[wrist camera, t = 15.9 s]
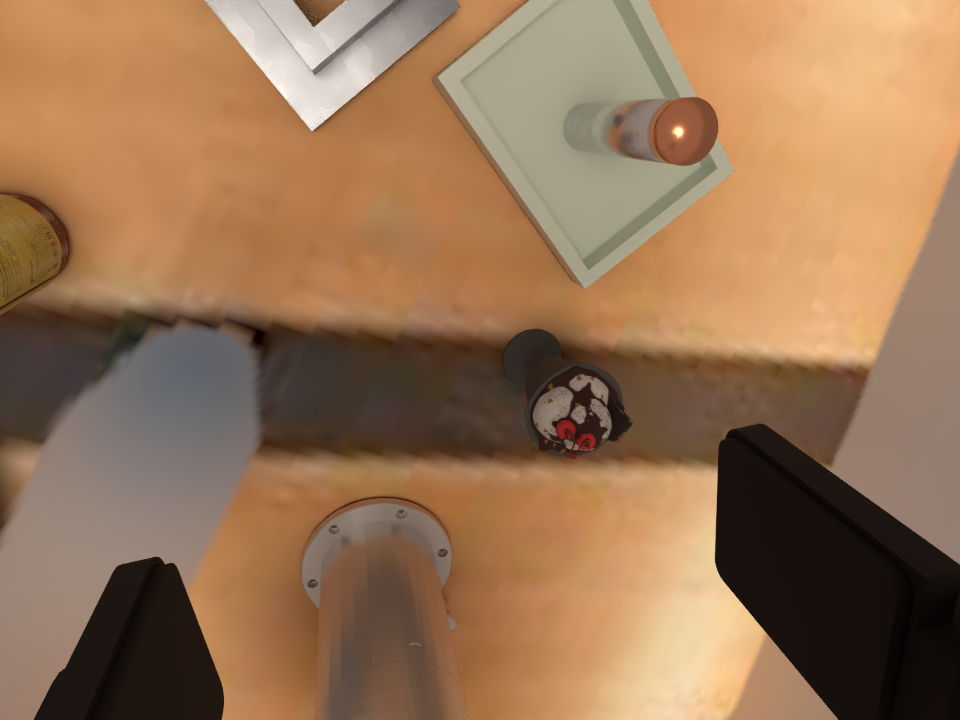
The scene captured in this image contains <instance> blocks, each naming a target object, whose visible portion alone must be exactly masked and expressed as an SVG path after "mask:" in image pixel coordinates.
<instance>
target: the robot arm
mask: <svg viewBox="0 0 960 720" xmlns="http://www.w3.org/2000/svg"><path fill="white" fill-rule="evenodd" d="M715 563H716V567H717V570H718V573H719V575H720V577H721V578H722V580H723V581H724V582H725V584H726V585H727V586H728V587H729V588H730V590H731V591H732V592H733V593H734V594H735V596H736V597H737V598H738V599H739V600H740V602H741V603H742V604H743V605H744V606H745V608H746V609H747V610H748V611H749V612H750V614H751V615H752V616H753V617H754V618H755V620H756V621H757V622H758V623H759V625H760V626H761V627H762V628H763V629H764V631H765V632H766V633H767V634H768V635H769V637H770V638H771V639H772V640H773V641H774V643H775V644H776V645H777V646H778V647H779V649H780V650H781V651H782V652H783V653H784V654H785V656H786V657H787V658H788V659H789V661H790V662H791V663H792V664H793V665H794V667H795V668H796V669H797V670H798V671H799V673H800V674H801V675H802V676H803V677H804V679H805V680H806V681H807V682H808V683H809V685H810V686H811V687H812V688H813V690H814V691H815V692H816V693H817V694H818V696H819V697H820V698H821V699H822V700H823V702H824V703H825V704H826V705H827V706H828V708H829V709H830V710H831V711H832V712H833V714H834V715H835V716H836V717H837V718H838V720H960V565H959V564H958V563H957V562H955V561H954V560H953V559H951V558H950V557H948V556H947V555H946V554H944V553H943V552H942V551H940V550H939V549H937V548H936V547H934V546H933V545H932V544H930V543H929V542H928V541H926V540H925V539H923V538H922V537H921V536H919V535H918V534H916V533H915V532H913V531H912V530H911V529H909V528H908V527H907V526H905V525H904V524H902V523H901V522H900V521H898V520H897V519H896V518H894V517H893V516H891V515H890V514H889V513H887V512H886V511H884V510H883V509H882V508H880V507H879V506H877V505H876V504H875V503H873V502H872V501H871V500H869V499H868V498H866V497H865V496H864V495H862V494H861V493H859V492H858V491H857V490H855V489H854V488H852V487H851V486H849V485H848V484H847V483H846V482H844V481H843V480H841V479H840V478H839V477H837V476H836V475H834V474H833V473H832V472H830V471H829V470H827V469H826V468H825V467H823V466H822V465H821V464H819V463H818V462H816V461H815V460H814V459H812V458H811V457H809V456H808V455H807V454H805V453H804V452H802V451H801V450H800V449H798V448H797V447H796V446H794V445H793V444H791V443H790V442H789V441H787V440H786V439H784V438H783V437H782V436H780V435H779V434H777V433H776V432H775V431H773V430H772V429H770V428H769V427H768V426H766V425H764V424H755V425H750V426H746V427H741V428H737V429H732V430H730V431H729V432H728V433H727V435H726V439H725V440H722V441H721V442H720V444H719V454H718V484H717V513H716V542H715ZM451 566H452V551H451V546H450V542H449V539H448V536H447V533H446V531H445V529H444V528H443V526H442V525H441V523H440V521H439V520H438V519H437V518H436V517H435V516H433V515H432V514H431V513H430V512H429V511H427V510H425V509H424V508H422V507H421V506H419V505H416V504H414V503H411V502H408V501H404V500H399V499H394V498H376V499H368V500H363V501H359V502H356V503H353V504H350V505H348V506H346V507H344V508H342V509H340V510H337V511H336V512H334V513H333V514H332V515H330V516H329V517H327V518H326V519H325V520H324V521H323V522H322V523H321V524H320V525H319V526H318V527H317V528H316V529H315V530H314V532H313V533H312V535H311V536H310V538H309V540H308V542H307V544H306V547H305V549H304V552H303V558H302V570H301V577H302V583H303V587H304V589H305V591H306V593H307V595H308V597H309V599H310V600H311V601H312V603H313V604H314V605H315V606H316V607H317V608H318V609H319V629H318V654H317V679H316V705H315V720H470V718H469V713H468V709H467V704H466V700H465V695H464V691H463V686H462V681H461V677H460V672H459V668H458V663H457V659H456V654H455V649H454V645H453V640H452V636H451V631H453V630H454V629H455V628H456V625H457V619H456V618H455V617H454V616H453V615H452V614H451V613H450V612H449V611H448V610H446V607H445V603H444V598H443V593H442V589H443V587H444V586H445V584H446V581H447V579H448V577H449V574H450V570H451ZM223 708H224V693H223V687H222V684H221V681H220V678H219V676H218V673H217V670H216V668H215V665H214V662H213V660H212V657H211V655H210V652H209V649H208V647H207V644H206V642H205V639H204V636H203V634H202V631H201V628H200V626H199V623H198V621H197V618H196V615H195V613H194V610H193V607H192V605H191V602H190V600H189V597H188V594H187V592H186V589H185V586H184V584H183V582H182V579H181V576H180V573H179V571H178V569H177V567H176V566H175V564H174V563H169V564H164V562H163V561H162V559H161V558H159V557H153V558H148V559H144V560H139V561H135V562H130V563H126V564H122V565H119V566H117V567H116V568H115V570H114V571H113V573H112V575H111V577H110V579H109V581H108V584H107V585H106V587H105V589H104V592H103V593H102V595H101V598H100V599H99V601H98V604H97V605H96V607H95V609H94V611H93V614H92V616H91V618H90V620H89V622H88V624H87V626H86V628H85V630H84V632H83V634H82V636H81V638H80V640H79V642H78V644H77V646H76V648H75V650H74V652H73V654H72V656H71V658H70V660H69V662H68V664H67V666H66V668H65V669H63V670H62V671H61V672H59V674H58V675H57V677H56V678H55V680H54V681H53V683H52V685H51V687H50V689H49V691H48V693H47V695H46V697H45V699H44V700H43V702H42V704H41V706H40V708H39V710H38V712H37V714H36V716H35V718H34V720H222V714H223Z"/></svg>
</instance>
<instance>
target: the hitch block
mask: <svg viewBox="0 0 960 720" xmlns="http://www.w3.org/2000/svg"><path fill="white" fill-rule="evenodd" d="M205 1H206V2H207V4H208V5H209V6H210V7H211V9H212V10H213V11H214V12H215V13H216V15H217V16H218V17H219V18H220V20H221V21H222V22H223V23H224V24H225V26H226V27H227V28H228V29H229V31H230V32H231V33H232V34H233V35H234V37H235V38H236V39H237V40H238V42H239V43H240V44H241V45H242V46H243V48H244V49H245V50H246V51H247V53H248V54H249V55H250V56H251V57H252V59H253V60H254V61H255V62H256V64H257V65H258V66H259V67H260V68H261V70H262V71H263V72H264V73H265V75H266V76H267V77H268V78H269V79H270V81H271V82H272V83H273V84H274V86H275V87H276V88H277V89H278V90H279V92H280V93H281V94H282V95H283V97H284V98H285V99H286V100H287V101H288V103H289V104H290V105H291V106H292V108H293V109H294V110H295V111H296V112H297V114H298V115H299V116H300V117H301V119H302V120H303V121H304V122H305V123H306V125H307V126H308V127H309V128H310V130H311V131H313V130H315V129H316V128H317V127H318V126H319V125H321V124H322V123H323V122H324V121H325V120H327V119H328V118H329V117H330V116H331V115H332V114H334V113H335V112H336V111H337V110H338V109H340V108H341V107H342V106H343V105H344V104H346V103H347V102H348V101H349V100H350V99H352V98H353V97H354V96H355V95H356V94H358V93H359V92H360V91H361V90H362V89H364V88H365V87H366V86H367V85H368V84H370V83H371V82H372V81H373V80H374V79H375V78H377V77H378V76H379V75H380V74H381V73H383V72H384V71H385V70H386V69H387V68H389V67H390V66H391V65H392V64H393V63H395V62H396V61H397V60H398V59H399V58H401V57H402V56H403V55H404V54H405V53H407V52H408V51H409V50H410V49H411V48H412V47H414V46H415V45H416V44H417V43H418V42H420V41H421V40H422V39H423V38H424V37H426V36H427V35H428V34H429V33H430V32H432V31H433V30H434V29H435V28H436V27H438V26H439V25H440V24H441V23H442V22H444V21H445V20H446V19H447V18H448V17H450V16H451V15H452V14H453V13H454V12H455V11H457V10H458V9H459V8H460V6H459V4H458V3H457V1H456V0H346V1H344V2H343V3H342V4H341V5H340V6H339V7H337V8H336V9H335V10H334V11H333V12H331V13H330V14H329V15H328V16H327V17H326V18H324V19H323V20H322V21H321V22H320V23H319V24H317V25H316V26H315V27H313V26H312V25H311V23H310V22H309V21H308V19H307V18H306V17H305V15H304V14H303V13H302V11H301V10H300V9H299V7H298V6H297V5H296V3H295V2H294V1H293V0H205Z"/></svg>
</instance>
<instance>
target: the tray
mask: <svg viewBox="0 0 960 720" xmlns="http://www.w3.org/2000/svg"><path fill="white" fill-rule="evenodd" d="M431 80H432V81H433V83H434V84H435V85H436V87H437V88H438V90H439V91H440V93H441V94H442V95H443V97H444V98H445V100H446V101H447V103H448V104H449V105H450V107H451V108H452V110H453V111H454V113H455V114H456V115H457V117H458V118H459V120H460V121H461V123H462V124H463V125H464V127H465V128H466V130H467V131H468V133H469V134H470V135H471V137H472V138H473V140H474V141H475V143H476V144H477V145H478V147H479V148H480V150H481V151H482V153H483V154H484V155H485V157H486V158H487V160H488V161H489V163H490V164H491V165H492V167H493V168H494V170H495V171H496V173H497V174H498V175H499V177H500V178H501V180H502V181H503V183H504V184H505V185H506V187H507V188H508V190H509V191H510V193H511V194H512V195H513V197H514V198H515V200H516V201H517V203H518V204H519V205H520V207H521V208H522V210H523V211H524V213H525V214H526V215H527V217H528V218H529V220H530V221H531V223H532V224H533V226H534V227H535V228H536V230H537V231H538V233H539V234H540V236H541V237H542V238H543V240H544V241H545V243H546V244H547V246H548V247H549V248H550V250H551V251H552V253H553V254H554V256H555V257H556V258H557V260H558V261H559V263H560V264H561V266H562V267H563V268H564V270H565V271H566V273H567V274H568V276H569V277H570V278H571V280H572V281H574V282H575V283H576V284H578V285H579V286H581V287H582V288H584V289H586V288H587V287H589V286H590V285H591V284H592V283H594V282H595V281H596V280H598V279H599V278H600V277H601V276H603V275H604V274H605V273H606V272H608V271H609V270H610V269H611V268H613V267H614V266H615V265H617V264H618V263H619V262H620V261H622V260H623V259H624V258H625V257H627V256H628V255H629V254H631V253H632V252H633V251H634V250H636V249H637V248H638V247H639V246H641V245H642V244H643V243H644V242H646V241H647V240H648V239H650V238H651V237H652V236H653V235H655V234H656V233H657V232H658V231H660V230H661V229H662V228H663V227H665V226H666V225H667V224H669V223H670V222H671V221H672V220H674V219H675V218H676V217H677V216H679V215H680V214H681V213H683V212H684V211H685V210H686V209H688V208H689V207H690V206H691V205H693V204H694V203H695V202H696V201H698V200H699V199H700V198H702V197H703V196H704V195H705V194H707V193H708V192H709V191H710V190H712V189H713V188H714V187H715V186H717V185H718V184H719V183H721V182H722V181H723V180H724V179H726V178H727V177H728V176H729V175H731V174H732V173H733V172H735V170H734V168H733V166H732V164H731V162H730V160H729V158H728V156H727V155H726V153H725V151H724V149H723V147H722V145H721V143H720V141H719V139H718V137H717V138H716V141H715V144H714V146H713V148H712V149H711V151H710V152H709V153H708V155H707V156H706V157H705V158H703V159H702V160H701V161H699V162H697V163H695V164H693V165H689V166H679V165H672V164H665V163H658V162H652V161H645V160H638V159H631V158H624V157H617V156H610V155H603V154H596V153H590V152H583V151H578V150H575V149H573V148H572V147H571V146H570V145H569V144H568V143H567V141H566V139H565V137H564V133H563V125H564V120H565V118H566V116H567V114H568V112H569V111H570V110H571V109H572V108H573V107H575V106H576V105H578V104H581V103H590V102H609V101H628V100H646V99H665V98H684V97H697V96H696V94H695V92H694V90H693V88H692V86H691V84H690V82H689V80H688V78H687V76H686V74H685V72H684V70H683V69H682V67H681V65H680V63H679V61H678V59H677V57H676V55H675V53H674V51H673V49H672V47H671V45H670V43H669V41H668V39H667V37H666V35H665V33H664V31H663V29H662V27H661V26H660V24H659V22H658V20H657V18H656V16H655V14H654V12H653V10H652V8H651V6H650V4H649V2H648V0H526V1H525V2H524V3H523V4H522V5H520V6H519V7H518V8H517V9H516V10H514V11H513V12H512V13H511V14H509V15H508V16H507V17H506V18H505V19H503V20H502V21H501V22H500V23H499V24H497V25H496V26H495V27H494V28H493V29H491V30H490V31H489V32H488V33H487V34H485V35H484V36H483V37H482V38H481V39H479V40H478V41H477V42H476V43H475V44H473V45H472V46H471V47H470V48H469V49H467V50H466V51H465V52H464V53H463V54H461V55H460V56H459V57H458V58H457V59H455V60H454V61H453V62H452V63H451V64H449V65H448V66H447V67H446V68H445V69H443V70H442V71H441V72H440V73H439V74H437V75H436V76H435V77H434V78H432V79H431Z"/></svg>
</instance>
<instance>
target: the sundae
mask: <svg viewBox="0 0 960 720" xmlns="http://www.w3.org/2000/svg"><path fill="white" fill-rule="evenodd" d="M503 369H504V372H505V374H506V376H507V377H508V378H509V379H510V380H511V381H512V382H513V383H514V384H517V385H519V386H522V387H525V389H526V395H527V399H528V404H527V407H526V409H525V420H526V426H527V428H528V431H529V433H530V435H531V437H532V439H533V441H534V442H535V443H536V444H537V445H538V447H539V449H540V450H541V451H545V452H547V453H549V454H552V455H556V456H566V457H567V458H572V459H576V458H577V457H578V455H582V454H585V453H589V452H591V451H594V450H596V449H598V448H599V447H601V446H602V445H603V444H605V443H606V442H607V441H608V440H610V441H613V442H615V443H617V442H618V441H619V440H620V439H621V438H622V437H623V436H624V435H625V433H626V432H627V430H628V429H629V428H630V427H631V426H632V425H633V424H632V420H631V419H630V418H629V417H628V416H627V414H626V413H625V412H624V406H623V405H622V402H623V398H622V393H621V390H620V387H619V385H618V384H617V382H616V381H615V380H614V379H613V378H612V377H611V376H610V375H609V374H608V373H607V372H605V371H603V370H602V369H600V368H598V367H595V366H593V365H590V364H585V363H575V364H574V363H572V362H570V361H568V360H565V359H563V358H562V351H561V347H560V344H559V342H558V341H557V339H556V338H555V337H554V336H553V335H552V334H550V333H548V332H546V331H543V330H528V331H525V332H522V333H520V334H518V335H517V336H516V337H514V338H513V339H512V340H511V341H510V342H509V343H508V345H507V347H506V349H505V351H504V353H503Z"/></svg>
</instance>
